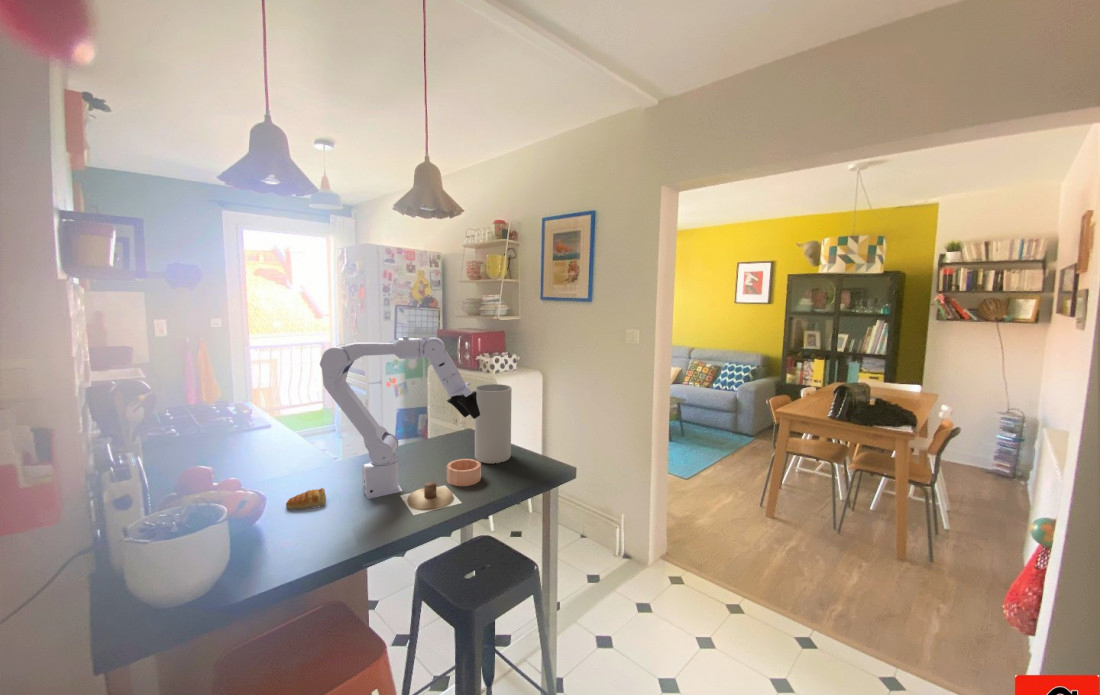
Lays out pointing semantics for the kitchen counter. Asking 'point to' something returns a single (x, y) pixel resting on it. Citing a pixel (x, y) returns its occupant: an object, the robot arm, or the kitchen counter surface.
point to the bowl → (463, 472)
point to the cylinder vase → (493, 423)
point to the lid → (430, 497)
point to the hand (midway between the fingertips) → (472, 416)
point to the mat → (419, 511)
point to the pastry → (307, 499)
